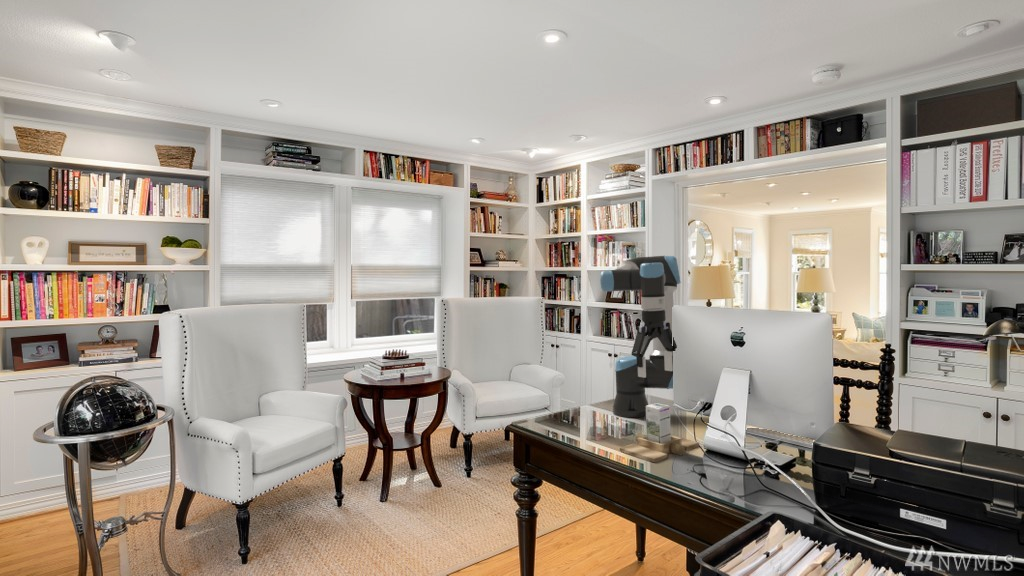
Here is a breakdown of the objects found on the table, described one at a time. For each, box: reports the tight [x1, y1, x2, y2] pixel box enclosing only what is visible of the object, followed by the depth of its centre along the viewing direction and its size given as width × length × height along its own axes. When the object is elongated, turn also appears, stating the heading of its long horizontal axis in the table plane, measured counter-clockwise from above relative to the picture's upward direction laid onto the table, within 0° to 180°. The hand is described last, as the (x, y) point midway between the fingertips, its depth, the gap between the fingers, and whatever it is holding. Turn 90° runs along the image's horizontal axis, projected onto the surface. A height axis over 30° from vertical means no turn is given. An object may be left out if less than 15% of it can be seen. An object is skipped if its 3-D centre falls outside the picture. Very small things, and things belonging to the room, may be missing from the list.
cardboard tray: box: [619, 433, 700, 463], centre depth 176 cm, size 18×23×4 cm
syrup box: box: [645, 402, 672, 444], centre depth 176 cm, size 6×6×14 cm
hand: (655, 373), depth 177 cm, fingers open, 13 cm apart
